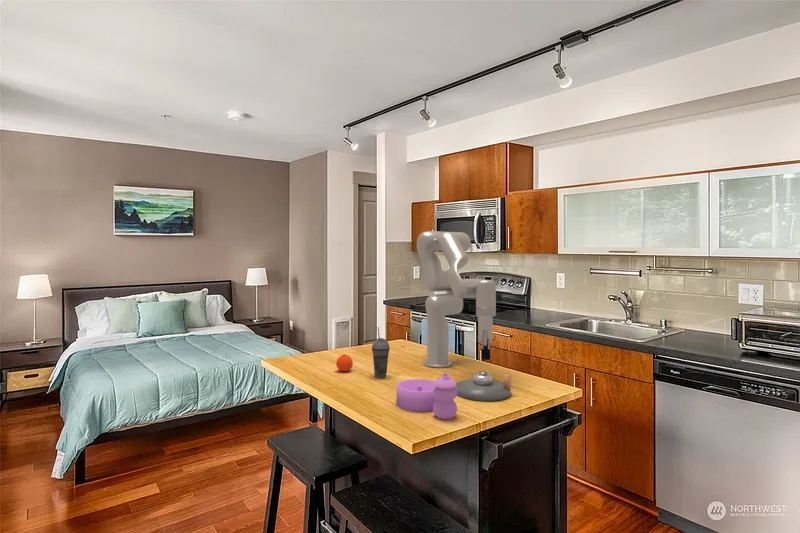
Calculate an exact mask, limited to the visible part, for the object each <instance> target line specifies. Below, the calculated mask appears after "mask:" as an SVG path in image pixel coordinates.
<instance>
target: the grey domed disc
mask: <svg viewBox="0 0 800 533" xmlns="http://www.w3.org/2000/svg"><path fill="white" fill-rule="evenodd" d="M473 379H474V378H471V379H464V380H459V381H456V387H455V389H456V390H457V396H458V397H460V398H463V399H467V400H472V401H479V402H480V401H481V402H494V401H495V402H497V401H503V400H507V399H509V398H511V393H512V392H511V390H512V385H511V384H512V374H509V373H504V375H503V382H501V381H497V380H493V384H492V385H489V386H481V385H476V384H474V383H473Z"/></svg>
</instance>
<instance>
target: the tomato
mask: <svg viewBox="0 0 800 533" xmlns="http://www.w3.org/2000/svg"><path fill="white" fill-rule="evenodd" d="M335 364H336V368H337V369H338V371H340V372H343V373H344V372H348V371H350V370H351V369H352V368H353V366H354V365H353V364H354V363H353V358H352V357H351V356H350V355H348V354H342V355H340V356H338V358H337V359H336V361H335Z"/></svg>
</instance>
